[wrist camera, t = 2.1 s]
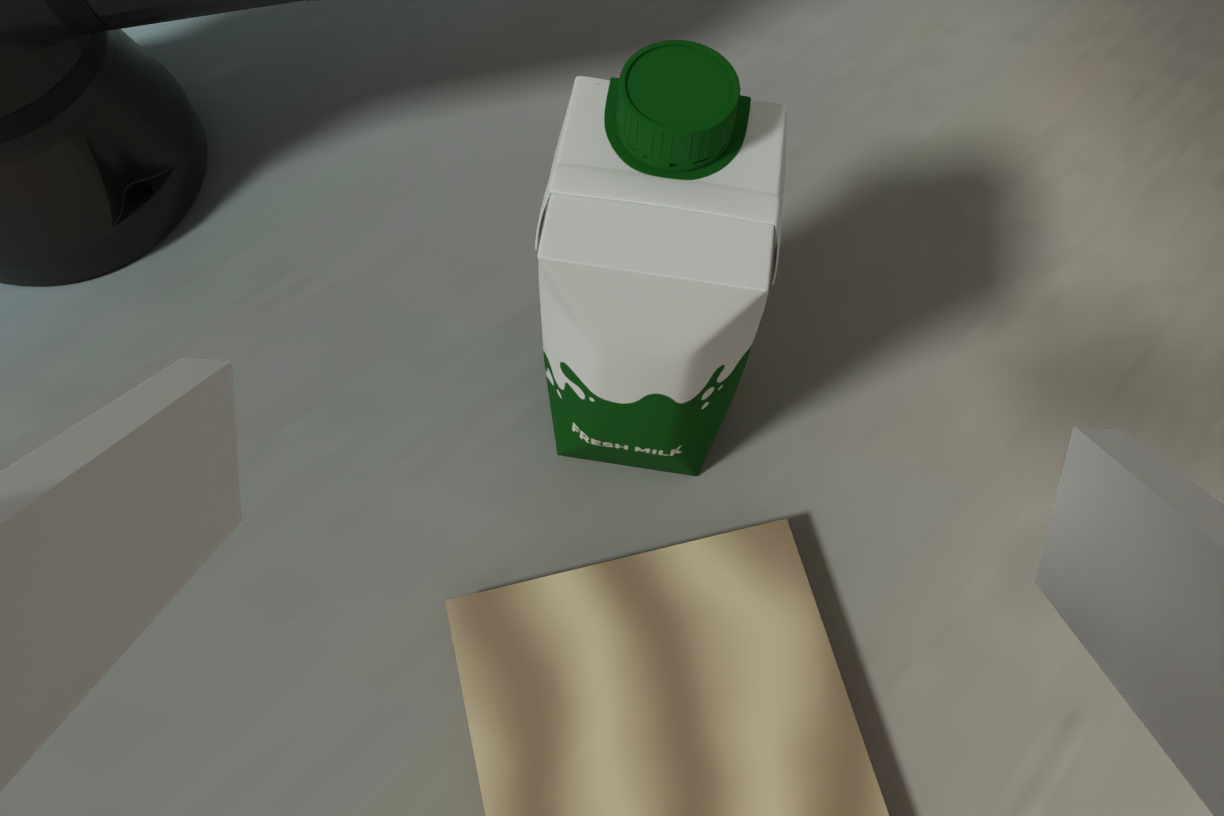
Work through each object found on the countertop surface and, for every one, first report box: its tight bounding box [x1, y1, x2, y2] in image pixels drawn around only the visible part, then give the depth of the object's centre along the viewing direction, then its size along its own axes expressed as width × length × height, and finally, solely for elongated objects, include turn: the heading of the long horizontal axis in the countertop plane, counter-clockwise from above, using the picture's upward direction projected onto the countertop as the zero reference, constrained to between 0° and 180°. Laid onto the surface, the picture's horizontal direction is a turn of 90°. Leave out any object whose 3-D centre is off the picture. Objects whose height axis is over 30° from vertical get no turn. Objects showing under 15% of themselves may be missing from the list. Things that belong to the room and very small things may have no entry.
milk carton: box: [535, 40, 787, 476], centre depth 40 cm, size 9×9×20 cm
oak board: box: [445, 518, 889, 816], centre depth 41 cm, size 16×16×2 cm
